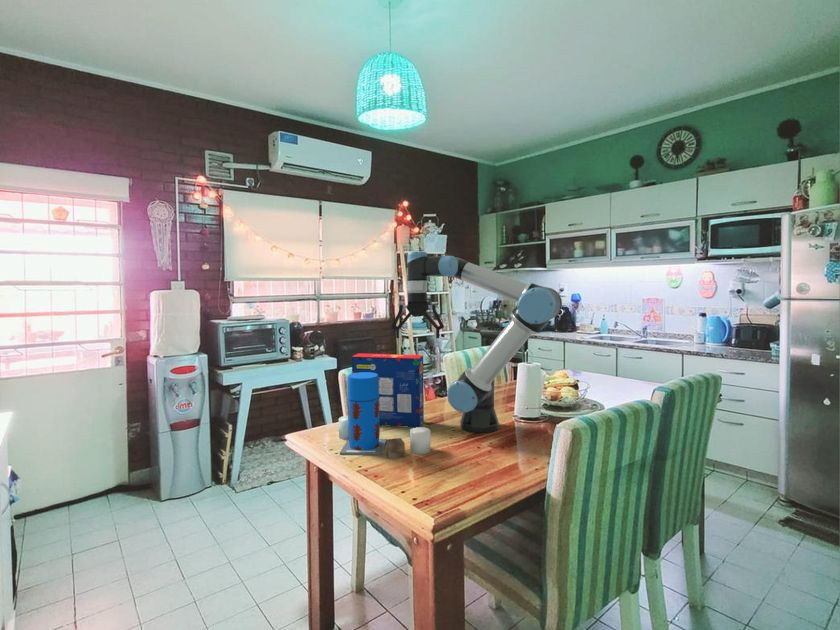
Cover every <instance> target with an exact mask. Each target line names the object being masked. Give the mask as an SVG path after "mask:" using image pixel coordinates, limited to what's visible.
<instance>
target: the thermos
mask: <svg viewBox="0 0 840 630" xmlns="http://www.w3.org/2000/svg"><path fill="white" fill-rule="evenodd" d="M346 379H347V381H346V384H347V388H346V389H347V390H346V391H347V416H348V434H349V446H350V448H351V449H354V450H359V451H365V450H372V449H375V448H377V447H378V446H379V439H380V436H381V435H380V434H381V433H380V431H381V430H380V425H379V378H378V374H376V373H371V372H359V373H353V374H352V373H350V374H348V375H347V378H346Z"/></svg>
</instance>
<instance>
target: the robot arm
mask: <svg viewBox="0 0 840 630" xmlns="http://www.w3.org/2000/svg"><path fill="white" fill-rule="evenodd" d="M406 262H407V263H406V265H407V266H406V267H407V291H408V293H407V304H406V305H405V304H400V305H399V309H398V313H397V314H396V316H395V318H394V320H393V322H392V324H391V329H392V330H395V335H396V339H398V348H402V346H403V340H402V339H403V335H402V333H403V332H402V329H401V328H402V326H403V325H404V324H405V323H406V322H407V320H408V319H409V318H410V317H411V316H412V317H423V316H424V317H425V319H426V320H427V321H428V322H429V323H430V324H431V325H432V327H434V330H433V333H434V334H433V336H434V337H433V338H434V339H433V341H434V342H433V343H434V348H437V339H440V330H443V329H444V328H445V326H444V324H443V321H442V319H441V317H440V316H439V314H438V311H437V308H436V304H434V303H433V304H430V305H429V304H428V293H427V291H428V277H445V278H446V277H453V278H455V279H458V280H460V281H464V282H466V283H468V284H470V285H474V286H475V287H479V288H481V289H483V290H486V291H488V292H491V293H494V294H496V295H498V296H501V297H504V298H506V299H508V300H511V301H513V302H516V303H517V304H516V305H515V307H514V308H513V309H512V311H511V319H510V321H509V322H508V323H507V324H506V326H504V328H503V329H501V330H502V331H501V332H500V333H499V334H498V335H497V336H496V338H495V339H494V340H493V342H492V343H491V344H490V345H489V347H488V348H486V350H485V351H484V352H483V354H482V356H480V358H479V359H478V360H477V362H475V364H474V365H473V366H472V367H467V368H466V369H465V370H464V371H463V373H461V374H460V376H459V378H458V379H457V380H455V381H454V382H452V383H451V384H450V385H449V386H448V388H447V392H446V396H447V402H448V403H449V405H450V406H451V408H453V409H454V410H455V411H457V412H459V413H462V414H461V418H460V420H459V423H460V424H459V426H460V428H461V429H463V430H464V431H466V432H467V431H468V432H472V433H481V434H482V433H491V432H495V431H497V430H498V429H499V420H498V417H497V413H496V409H495V381H496V380H495V379H496V378H497V377H498V376H499V375H500V373H502V371H503V369H504V368H505V367H506V366H507V365H508V363H509V362H510V361H511V360H512V358H513V357H514V356H516V354H517V353H518V351H519V350H520V349H521V348H522V346H524V344H525V343H526V342H527V341H528V339H530V337H531V336H532V335H533V334H534V335H535V334H539V333H540V332H541V331H542V330H543V329H544V328H545V326H546V325H547V324H548V323H549V322H550V321H551V320H552V319H554V318H555V317H557V316H558V315H559V314H560V312H561V310H562V307H563V300H562V298H561V295H560V293H559V292H558V291H557V290H555V289H553V288H551V287H546V286H543V285H538V284H535V283H533V282H532V283H531V282H530V283H529V284H528V283H525V282H522V281H520V280H517V279H515V278H512V277H510V276H506V275H504V274H501V273H499V272H496V271H493V270H491V269H489V268H485V267H482V266H480V265H477V264H474V263H471V262H470V261H467V260H465V259H463V258H461V257H455V256H454V255H436V256H434V255H433V256H428V254H427V252H426V251H423V250H422V251H419V250H417V251H409V252H408V253H407V261H406ZM405 310H407V311H408V313H407V314H406V316H405V317H404V318H403V319H402V320H401V321H400V323H399V324H398V322H399V320H400V317H401V315H402V314H403V312H404V311H405ZM428 310H430V311H432V313H433V314H434V317H435V319H436V321H437V322H438V324H437V322H435V320H434V319H433V318H432V317H431V316H430V314H429V313H428V312H427V311H428ZM397 324H398V325H397Z"/></svg>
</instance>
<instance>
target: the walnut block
mask: <svg viewBox="0 0 840 630" xmlns="http://www.w3.org/2000/svg"><path fill="white" fill-rule="evenodd" d="M385 439H386V455H387V456H388V459H389V460H394V459H402V458H405V455H406V454H405V452H406V450H405V449H406V448H405V441H404V440H403V439H402V437H398V438H389V439H387V438H385Z"/></svg>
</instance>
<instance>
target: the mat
mask: <svg viewBox="0 0 840 630" xmlns="http://www.w3.org/2000/svg"><path fill="white" fill-rule="evenodd" d="M386 439H387V438H379V446H378V447H377V448H375V449H372V450H365V451H359V450H354V449H351V448H350V446H349V439H348V440H346V442H345V444H344V445H343V447H342V448H341V450H340V451H339V455H345V456H346V455H348V456H351V455H352V456H353V455H355V456H357V455H358V456H361V455H362V456H381V455H382V453H383V450H384V448H385V445H386V444H387V442H386Z"/></svg>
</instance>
